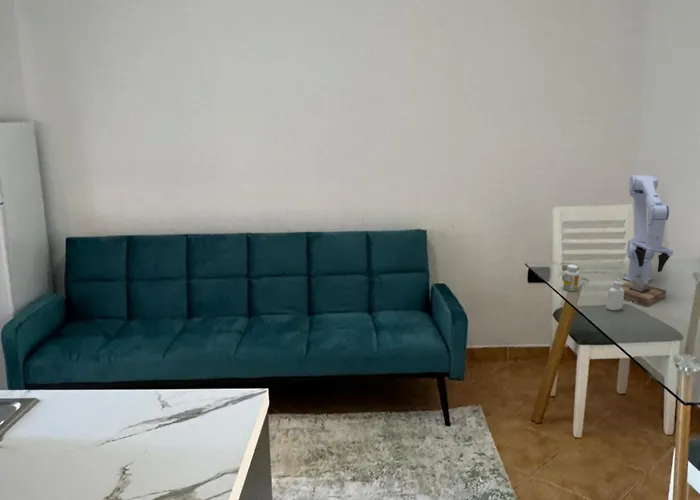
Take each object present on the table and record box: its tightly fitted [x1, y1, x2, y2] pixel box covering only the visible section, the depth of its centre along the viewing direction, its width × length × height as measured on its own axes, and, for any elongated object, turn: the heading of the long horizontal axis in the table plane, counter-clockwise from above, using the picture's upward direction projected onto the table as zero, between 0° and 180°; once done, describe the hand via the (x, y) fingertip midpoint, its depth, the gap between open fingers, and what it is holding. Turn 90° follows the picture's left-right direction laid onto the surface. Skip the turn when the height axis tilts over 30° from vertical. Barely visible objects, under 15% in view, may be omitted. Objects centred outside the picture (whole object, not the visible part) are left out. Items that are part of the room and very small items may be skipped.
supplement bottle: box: [563, 264, 580, 292], centre depth 260 cm, size 5×5×10 cm
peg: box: [632, 274, 650, 294], centre depth 251 cm, size 4×4×8 cm
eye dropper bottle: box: [605, 278, 624, 311], centre depth 240 cm, size 4×6×12 cm
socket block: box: [620, 281, 667, 308], centre depth 252 cm, size 14×14×3 cm
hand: (650, 268), depth 252 cm, fingers open, 7 cm apart
